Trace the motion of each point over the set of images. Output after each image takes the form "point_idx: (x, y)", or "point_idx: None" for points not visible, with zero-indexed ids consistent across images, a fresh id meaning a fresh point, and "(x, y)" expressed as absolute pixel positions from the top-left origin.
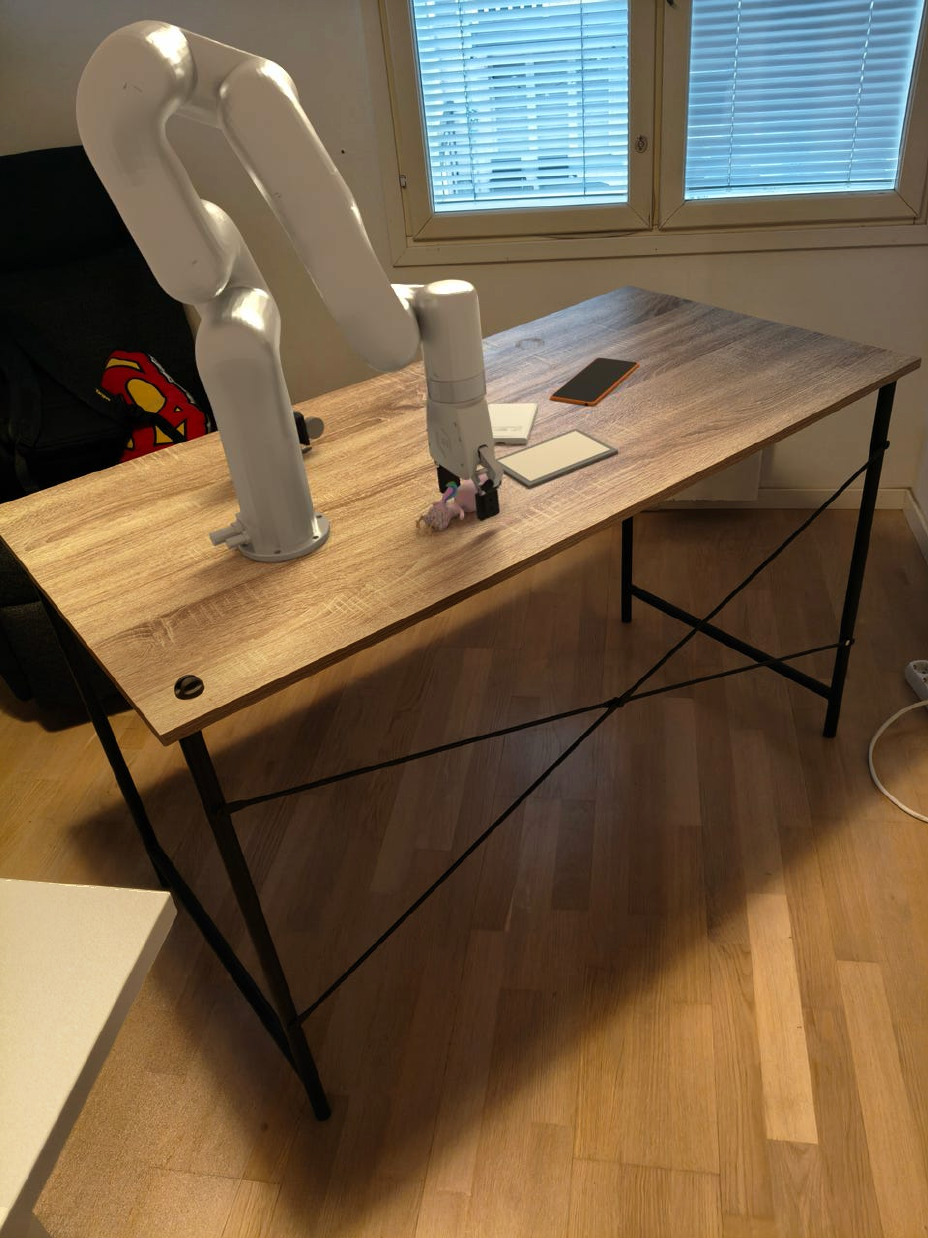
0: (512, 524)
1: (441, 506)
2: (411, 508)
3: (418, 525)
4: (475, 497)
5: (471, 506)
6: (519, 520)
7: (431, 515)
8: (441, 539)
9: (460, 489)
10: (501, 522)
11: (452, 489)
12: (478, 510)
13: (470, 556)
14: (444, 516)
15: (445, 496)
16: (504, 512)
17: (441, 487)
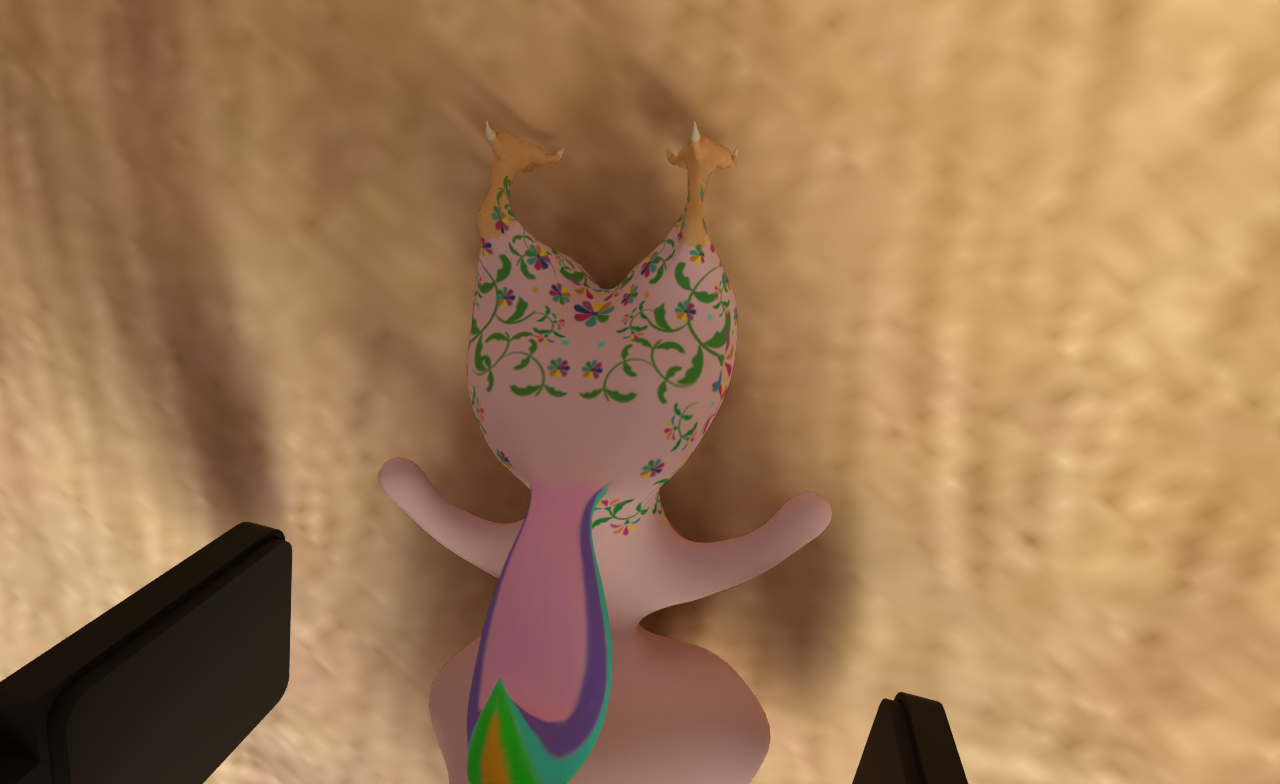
0: None
1: (542, 442)
2: (1097, 402)
3: (684, 150)
4: (65, 666)
5: (474, 648)
6: None
7: (626, 317)
8: (419, 190)
9: (585, 771)
10: (302, 636)
11: (483, 691)
12: (166, 572)
13: (60, 165)
14: (468, 366)
15: (524, 563)
16: (393, 739)
17: (911, 744)
